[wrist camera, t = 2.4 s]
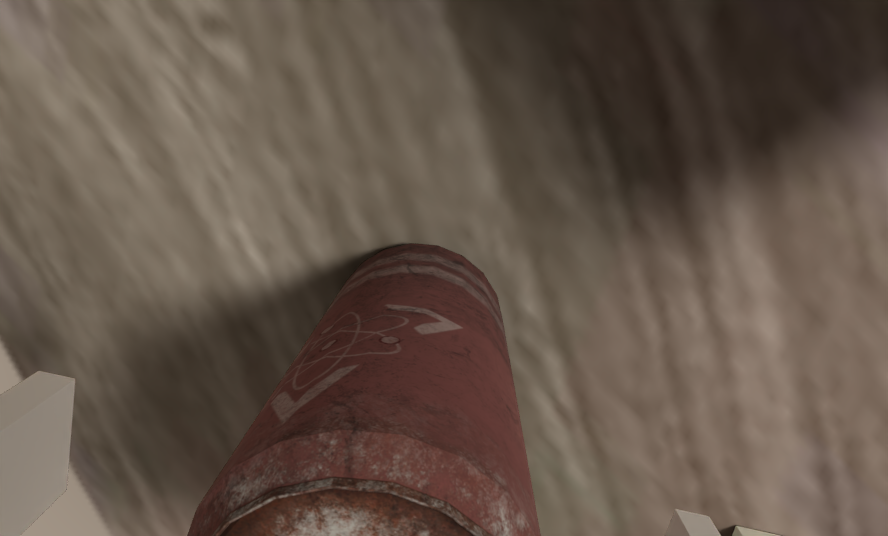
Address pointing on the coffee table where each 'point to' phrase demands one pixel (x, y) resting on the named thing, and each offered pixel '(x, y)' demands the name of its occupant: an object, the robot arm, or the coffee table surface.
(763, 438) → the coffee table surface
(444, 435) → the can
